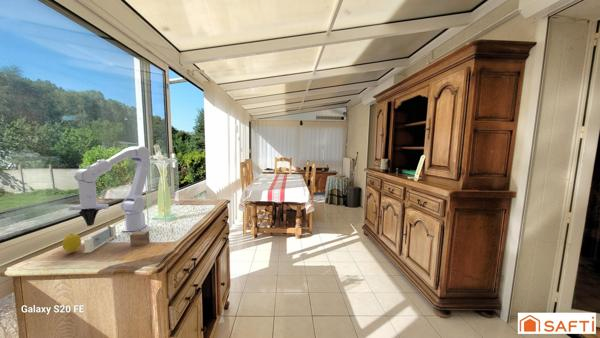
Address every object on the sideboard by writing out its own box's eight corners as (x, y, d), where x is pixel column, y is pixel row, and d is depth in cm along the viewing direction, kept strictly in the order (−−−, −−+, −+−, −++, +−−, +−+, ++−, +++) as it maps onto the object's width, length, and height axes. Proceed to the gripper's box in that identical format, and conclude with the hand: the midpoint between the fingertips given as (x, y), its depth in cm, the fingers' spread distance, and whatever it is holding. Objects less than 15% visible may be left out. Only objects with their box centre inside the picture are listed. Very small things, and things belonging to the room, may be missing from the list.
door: (109, 236, 111) (108, 225, 111) (113, 236, 112) (113, 225, 111) (91, 247, 100) (90, 235, 99) (96, 246, 100) (95, 235, 99)
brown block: (135, 242, 107) (134, 231, 106) (149, 241, 108) (148, 230, 108) (130, 245, 103) (129, 234, 102) (145, 244, 104) (144, 233, 104)
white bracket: (110, 236, 114) (110, 225, 113) (116, 235, 114) (115, 225, 114) (83, 253, 96) (82, 240, 95) (90, 252, 96) (89, 239, 96)
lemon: (60, 256, 93) (58, 237, 92) (66, 251, 98) (64, 232, 97) (79, 253, 95) (77, 234, 94) (84, 248, 100) (82, 230, 99)
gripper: (61, 198, 99) (64, 229, 100) (100, 196, 102) (103, 227, 103) (74, 194, 106) (77, 223, 107) (110, 193, 109) (112, 222, 110)
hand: (90, 225), depth 105 cm, fingers closed
